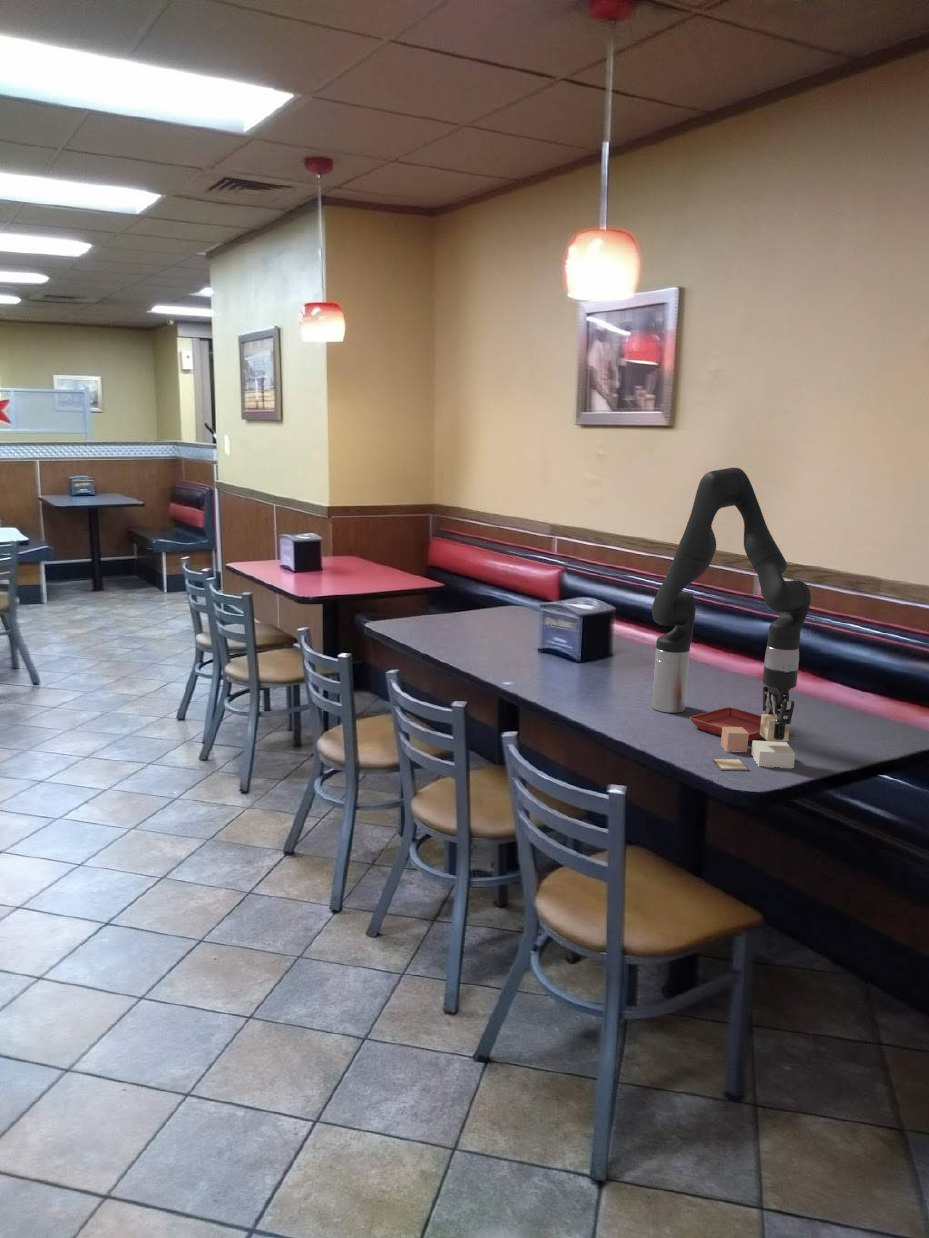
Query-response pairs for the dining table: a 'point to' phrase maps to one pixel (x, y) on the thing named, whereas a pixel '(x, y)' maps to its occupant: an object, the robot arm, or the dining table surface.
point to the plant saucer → (728, 721)
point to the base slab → (773, 754)
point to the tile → (730, 764)
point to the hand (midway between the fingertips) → (774, 735)
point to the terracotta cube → (734, 739)
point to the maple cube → (771, 728)
